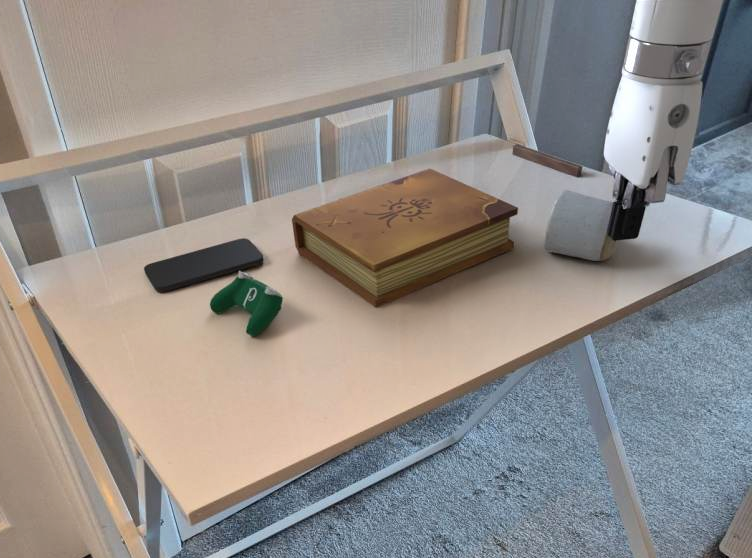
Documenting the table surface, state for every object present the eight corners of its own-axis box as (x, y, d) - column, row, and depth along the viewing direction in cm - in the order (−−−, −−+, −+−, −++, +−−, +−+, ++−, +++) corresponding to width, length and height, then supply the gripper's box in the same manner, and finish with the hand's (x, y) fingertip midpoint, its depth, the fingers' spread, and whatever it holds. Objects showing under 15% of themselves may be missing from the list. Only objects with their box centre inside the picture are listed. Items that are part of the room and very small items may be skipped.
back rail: (581, 175, 108) (582, 166, 107) (576, 177, 108) (578, 167, 107) (516, 152, 117) (517, 143, 116) (512, 154, 116) (513, 145, 115)
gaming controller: (270, 346, 80) (294, 300, 79) (248, 335, 77) (273, 288, 76) (226, 317, 85) (248, 274, 84) (204, 306, 82) (226, 262, 81)
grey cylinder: (603, 273, 85) (616, 213, 80) (540, 260, 89) (549, 202, 83) (623, 239, 92) (637, 182, 87) (564, 228, 95) (573, 172, 90)
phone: (141, 265, 91) (246, 236, 95) (143, 271, 91) (247, 242, 96) (156, 289, 86) (265, 257, 91) (157, 295, 87) (266, 263, 91)
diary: (426, 205, 103) (426, 166, 99) (513, 249, 91) (518, 207, 87) (295, 252, 93) (290, 211, 90) (375, 307, 82) (373, 263, 78)
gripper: (745, 75, 61) (685, 263, 74) (662, 37, 72) (622, 207, 85) (667, 82, 60) (620, 271, 73) (595, 43, 71) (565, 213, 84)
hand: (621, 236), depth 79 cm, fingers closed
